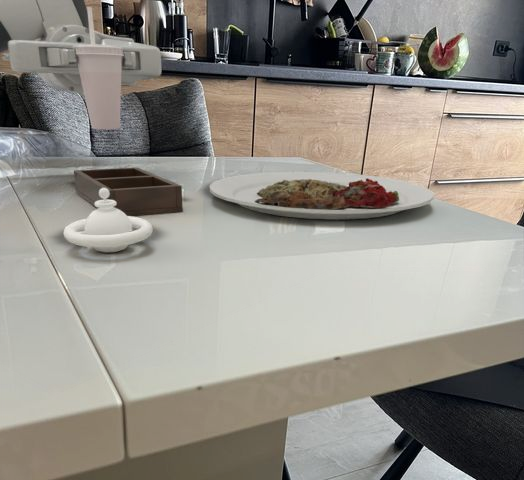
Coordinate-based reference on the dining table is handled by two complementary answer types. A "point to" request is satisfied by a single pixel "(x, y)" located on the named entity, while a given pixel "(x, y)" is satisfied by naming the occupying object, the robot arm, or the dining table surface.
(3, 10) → the robot arm
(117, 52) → the smoothie
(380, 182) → the plated food
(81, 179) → the holder
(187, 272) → the dining table surface
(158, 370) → the dining table surface
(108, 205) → the ring around a ball
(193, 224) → the dining table surface
